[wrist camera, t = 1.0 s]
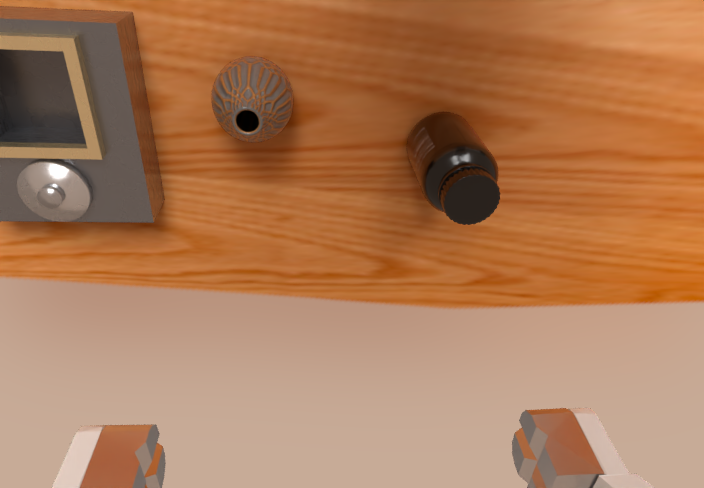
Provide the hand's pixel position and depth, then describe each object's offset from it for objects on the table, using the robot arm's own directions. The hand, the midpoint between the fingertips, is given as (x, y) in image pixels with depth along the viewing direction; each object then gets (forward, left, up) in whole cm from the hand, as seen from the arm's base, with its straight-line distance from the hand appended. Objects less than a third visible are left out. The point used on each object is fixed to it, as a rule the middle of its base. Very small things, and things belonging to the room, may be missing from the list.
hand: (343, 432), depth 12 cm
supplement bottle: (+10, +12, -41) cm, 44 cm away
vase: (+5, -6, -41) cm, 42 cm away
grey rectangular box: (+8, -23, -41) cm, 48 cm away
